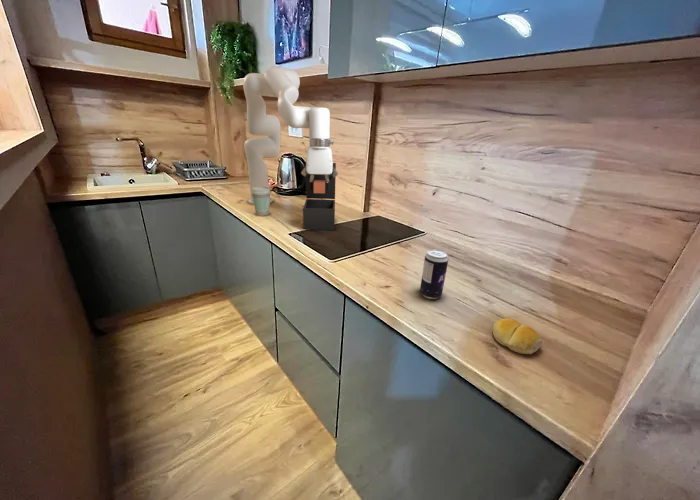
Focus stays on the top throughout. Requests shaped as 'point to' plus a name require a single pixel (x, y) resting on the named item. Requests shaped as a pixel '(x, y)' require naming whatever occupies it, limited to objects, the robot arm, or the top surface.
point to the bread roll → (516, 336)
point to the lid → (328, 195)
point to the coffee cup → (261, 200)
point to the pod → (319, 186)
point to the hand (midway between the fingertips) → (319, 191)
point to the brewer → (319, 214)
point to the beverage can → (434, 274)
